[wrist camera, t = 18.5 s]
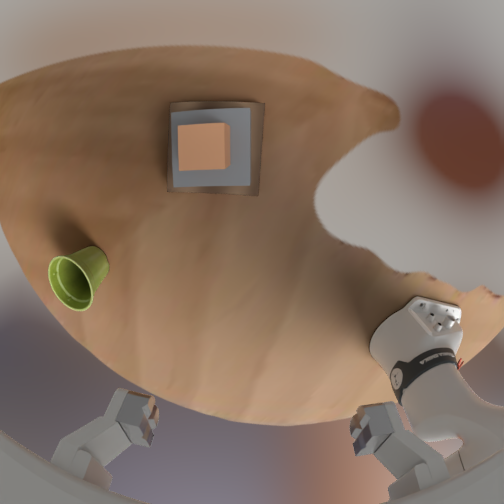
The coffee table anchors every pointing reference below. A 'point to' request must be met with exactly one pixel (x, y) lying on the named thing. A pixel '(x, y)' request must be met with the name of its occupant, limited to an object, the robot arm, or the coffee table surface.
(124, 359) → the coffee table surface
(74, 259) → the plant pot
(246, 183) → the upper tower block
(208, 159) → the rust cube
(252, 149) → the lower tower block
